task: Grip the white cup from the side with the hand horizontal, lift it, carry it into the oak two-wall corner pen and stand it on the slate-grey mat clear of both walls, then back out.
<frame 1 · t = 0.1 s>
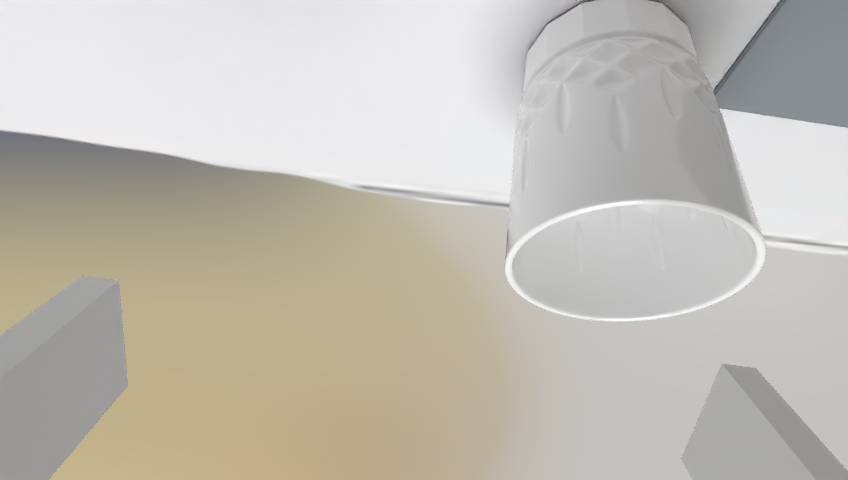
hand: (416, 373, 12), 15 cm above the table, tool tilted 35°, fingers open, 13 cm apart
white cup: (603, 62, 23), on the table
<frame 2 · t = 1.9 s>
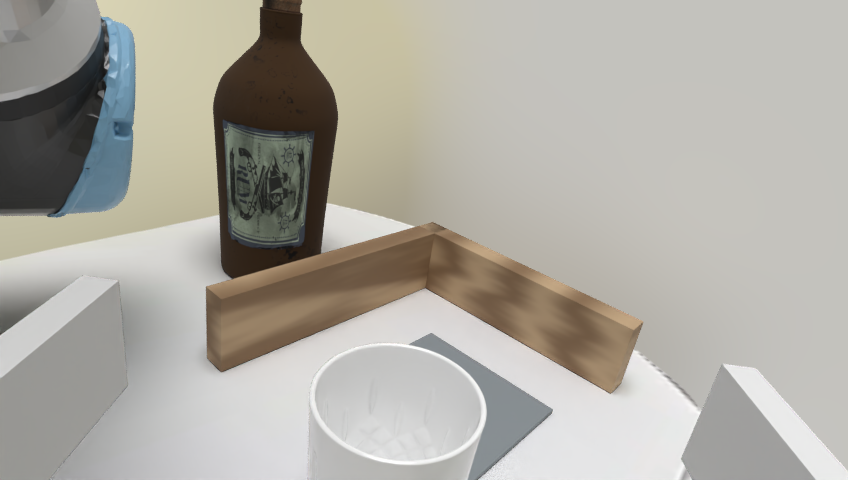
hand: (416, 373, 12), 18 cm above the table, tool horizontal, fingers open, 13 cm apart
brown bottle: (270, 266, 54), on the table
slate mat: (438, 403, 39), on the table
corner pen: (438, 403, 39), on the table
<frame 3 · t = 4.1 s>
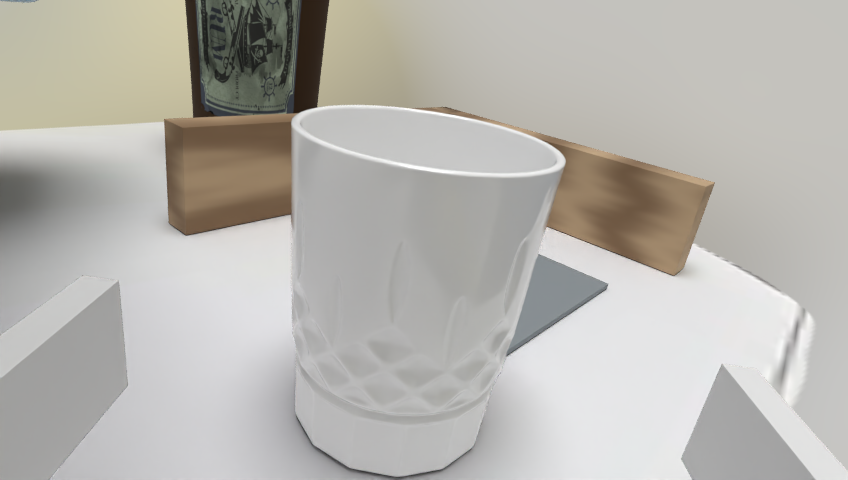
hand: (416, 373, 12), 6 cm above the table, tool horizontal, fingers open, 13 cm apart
brown bottle: (254, 159, 46), on the table
white cup: (389, 409, 20), on the table
slate mat: (463, 274, 30), on the table
corner pen: (463, 274, 30), on the table
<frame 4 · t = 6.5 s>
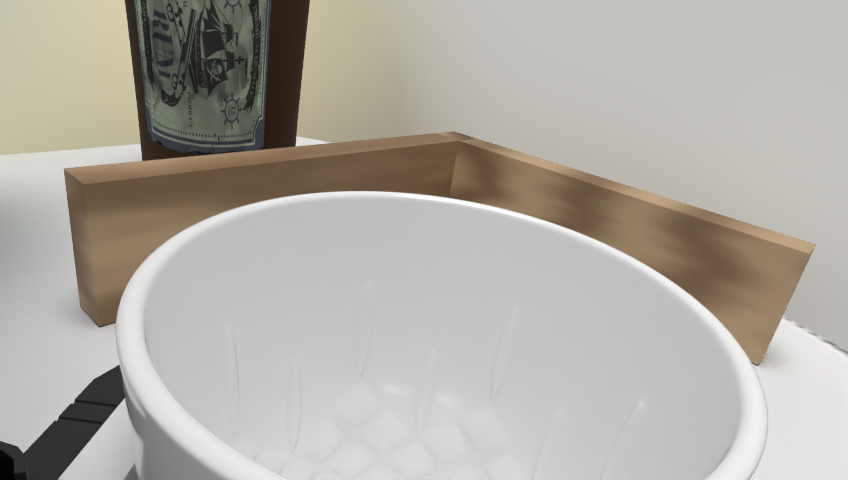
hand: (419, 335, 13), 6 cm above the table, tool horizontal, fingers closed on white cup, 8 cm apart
brown bottle: (220, 195, 37), on the table
corner pen: (483, 379, 22), on the table
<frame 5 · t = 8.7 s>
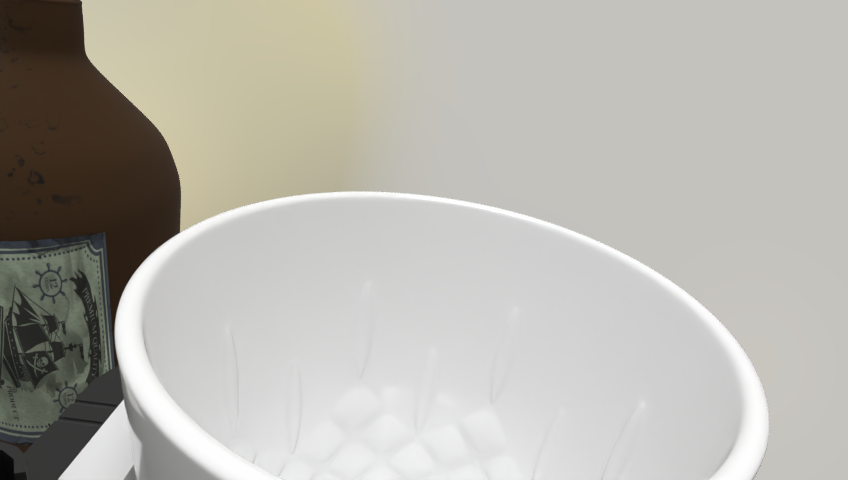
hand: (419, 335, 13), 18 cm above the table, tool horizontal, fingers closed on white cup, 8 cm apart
brown bottle: (87, 439, 31), on the table
when the fingers open (7 cm above the table, at t = 11.1 s): white cup drops 1 cm, resting on slate mat.
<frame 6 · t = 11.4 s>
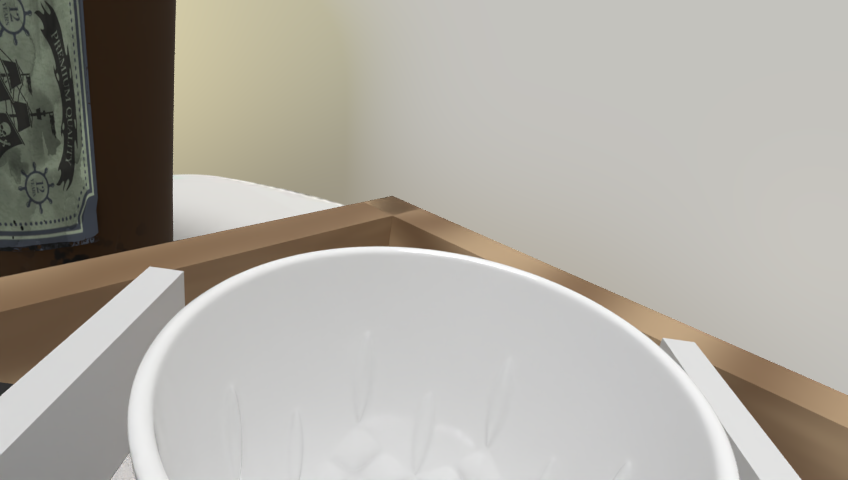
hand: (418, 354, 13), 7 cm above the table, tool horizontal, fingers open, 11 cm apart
brown bottle: (68, 286, 27), on the table
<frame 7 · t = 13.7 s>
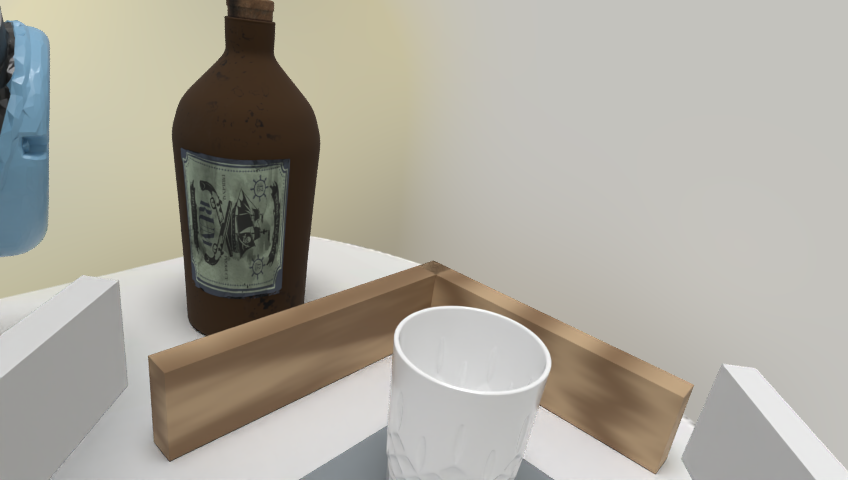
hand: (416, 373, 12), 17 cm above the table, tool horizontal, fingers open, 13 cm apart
brown bottle: (246, 315, 46), on the table
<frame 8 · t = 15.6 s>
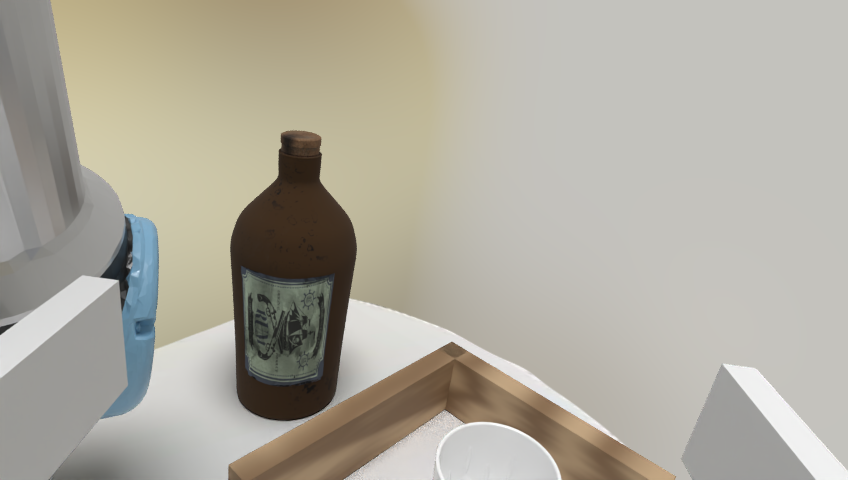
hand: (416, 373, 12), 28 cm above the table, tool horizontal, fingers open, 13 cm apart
brown bottle: (286, 389, 53), on the table
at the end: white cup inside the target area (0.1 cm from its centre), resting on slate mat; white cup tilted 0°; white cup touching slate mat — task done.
